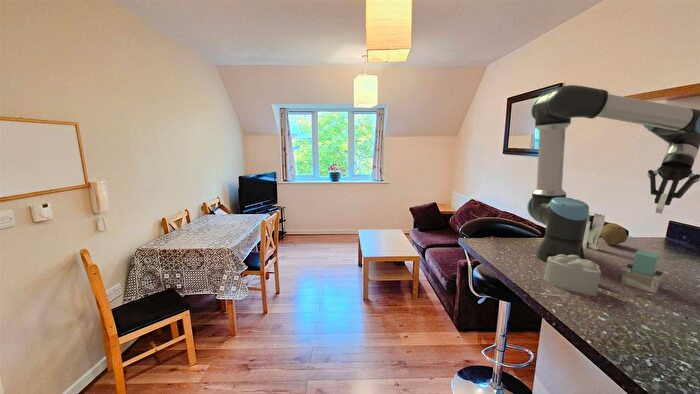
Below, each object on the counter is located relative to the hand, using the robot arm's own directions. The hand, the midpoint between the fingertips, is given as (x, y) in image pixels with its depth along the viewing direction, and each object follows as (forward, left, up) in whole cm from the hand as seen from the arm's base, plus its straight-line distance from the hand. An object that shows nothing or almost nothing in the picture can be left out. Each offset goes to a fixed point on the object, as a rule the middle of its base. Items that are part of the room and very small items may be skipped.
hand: (658, 210), depth 98 cm
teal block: (-12, -19, -20) cm, 30 cm away
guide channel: (-10, -16, -22) cm, 29 cm away
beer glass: (-9, +20, -22) cm, 31 cm away
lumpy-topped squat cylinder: (-32, -23, -22) cm, 45 cm away
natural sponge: (+3, +29, -22) cm, 36 cm away
